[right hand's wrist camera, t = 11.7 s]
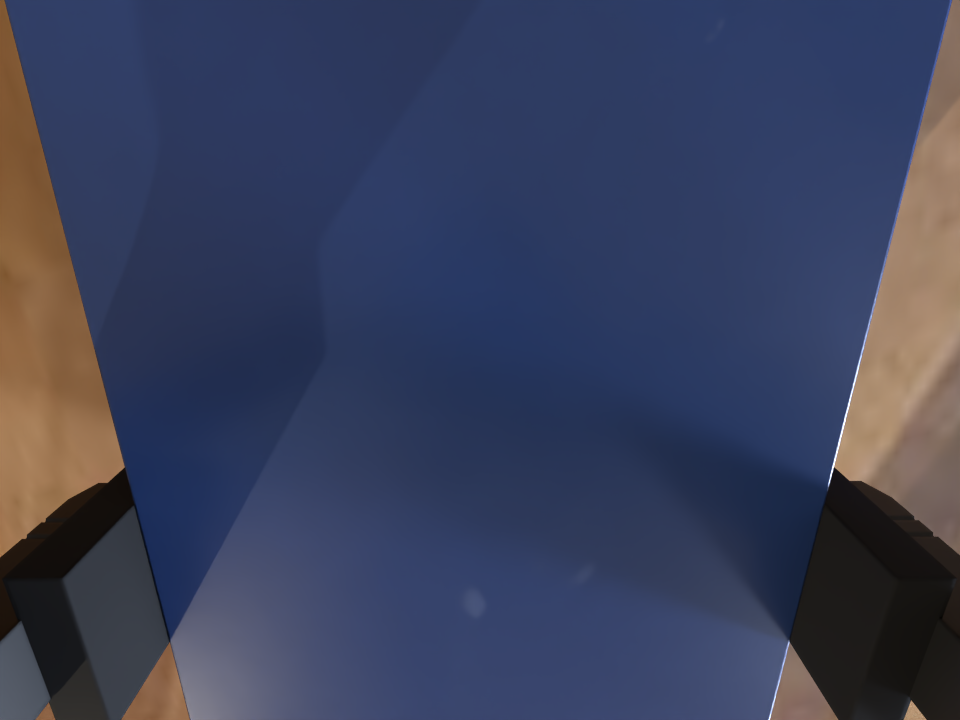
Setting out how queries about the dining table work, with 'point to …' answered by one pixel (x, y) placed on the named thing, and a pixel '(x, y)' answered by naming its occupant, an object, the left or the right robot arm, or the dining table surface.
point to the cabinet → (479, 331)
